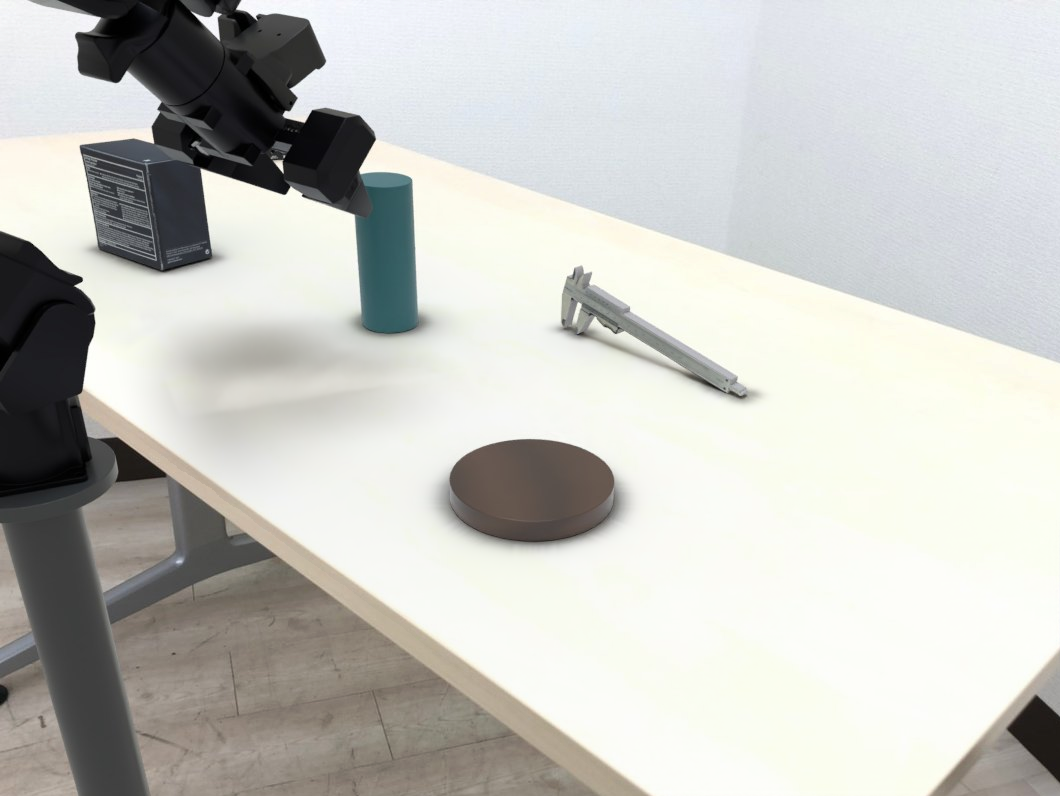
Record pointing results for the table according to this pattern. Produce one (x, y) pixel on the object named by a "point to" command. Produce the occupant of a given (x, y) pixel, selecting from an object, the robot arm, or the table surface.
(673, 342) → the caliper
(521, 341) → the table surface
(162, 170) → the small box
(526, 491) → the walnut chip
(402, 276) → the cylinder
